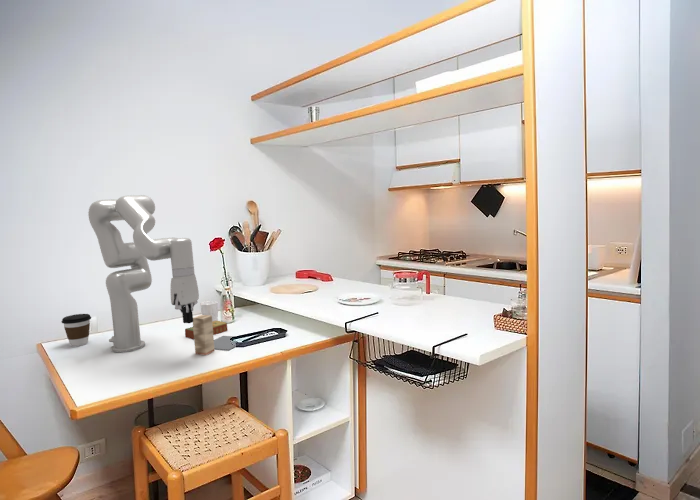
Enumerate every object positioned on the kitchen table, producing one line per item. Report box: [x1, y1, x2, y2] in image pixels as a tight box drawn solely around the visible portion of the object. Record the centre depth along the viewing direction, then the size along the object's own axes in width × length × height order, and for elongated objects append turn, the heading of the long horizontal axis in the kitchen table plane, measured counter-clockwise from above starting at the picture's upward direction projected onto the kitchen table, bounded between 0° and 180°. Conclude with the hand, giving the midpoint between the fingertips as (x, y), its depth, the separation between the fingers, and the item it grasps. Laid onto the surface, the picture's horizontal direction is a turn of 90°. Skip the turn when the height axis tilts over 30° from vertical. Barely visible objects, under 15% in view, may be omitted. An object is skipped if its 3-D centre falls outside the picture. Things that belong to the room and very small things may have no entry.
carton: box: [184, 320, 228, 340], centre depth 207 cm, size 8×16×4 cm, turn 140°
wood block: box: [192, 314, 216, 356], centre depth 180 cm, size 5×5×14 cm
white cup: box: [199, 300, 219, 321], centre depth 225 cm, size 8×8×10 cm
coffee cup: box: [60, 313, 92, 347], centre depth 199 cm, size 11×11×12 cm
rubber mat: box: [214, 335, 236, 352], centre depth 192 cm, size 14×16×1 cm
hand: (188, 322), depth 171 cm, fingers closed
